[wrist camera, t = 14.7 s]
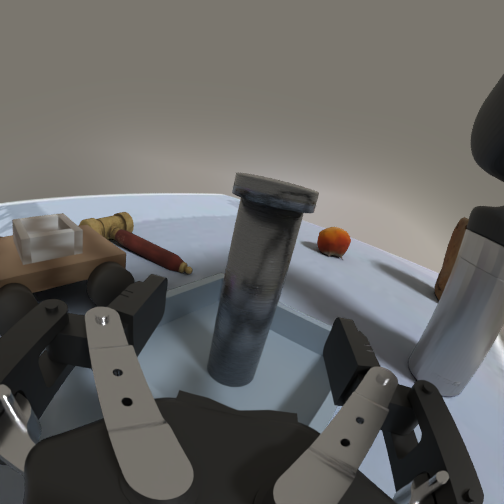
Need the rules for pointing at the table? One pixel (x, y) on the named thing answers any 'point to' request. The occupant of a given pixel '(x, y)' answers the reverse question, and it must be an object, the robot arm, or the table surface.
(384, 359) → the table surface
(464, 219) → the block
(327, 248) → the fruit
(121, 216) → the gavel
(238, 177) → the pin
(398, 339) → the table surface
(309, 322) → the tray
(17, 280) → the wheeled pole base
